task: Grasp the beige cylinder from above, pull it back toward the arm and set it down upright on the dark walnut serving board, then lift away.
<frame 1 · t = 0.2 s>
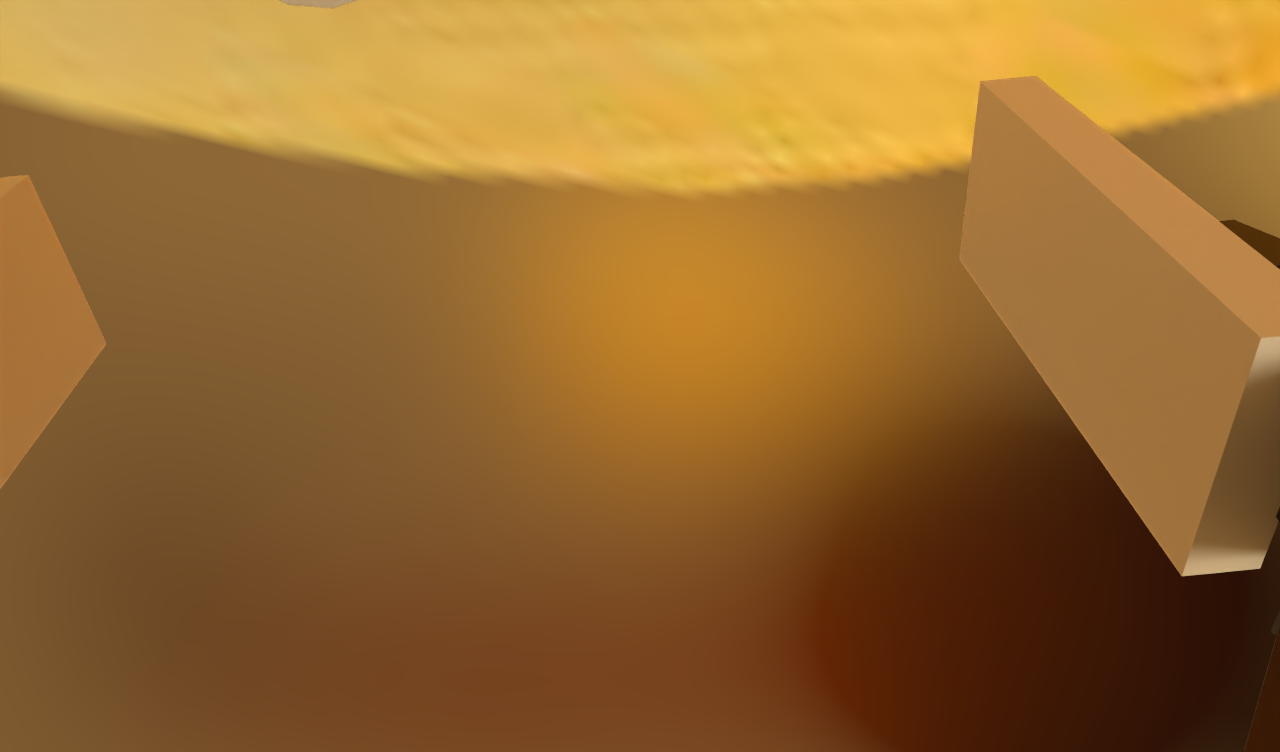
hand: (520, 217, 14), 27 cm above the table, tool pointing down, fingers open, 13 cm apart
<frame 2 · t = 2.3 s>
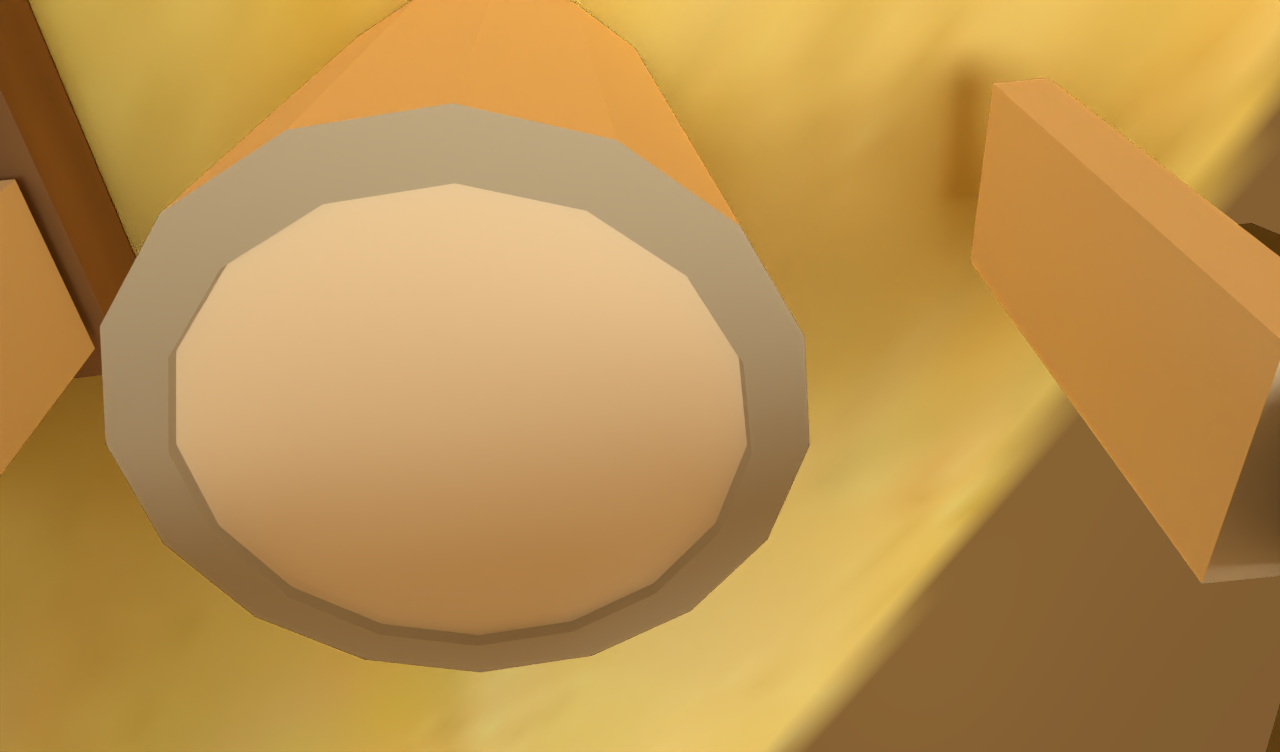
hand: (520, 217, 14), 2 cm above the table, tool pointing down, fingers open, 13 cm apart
beige cylinder: (501, 166, 15), on the table
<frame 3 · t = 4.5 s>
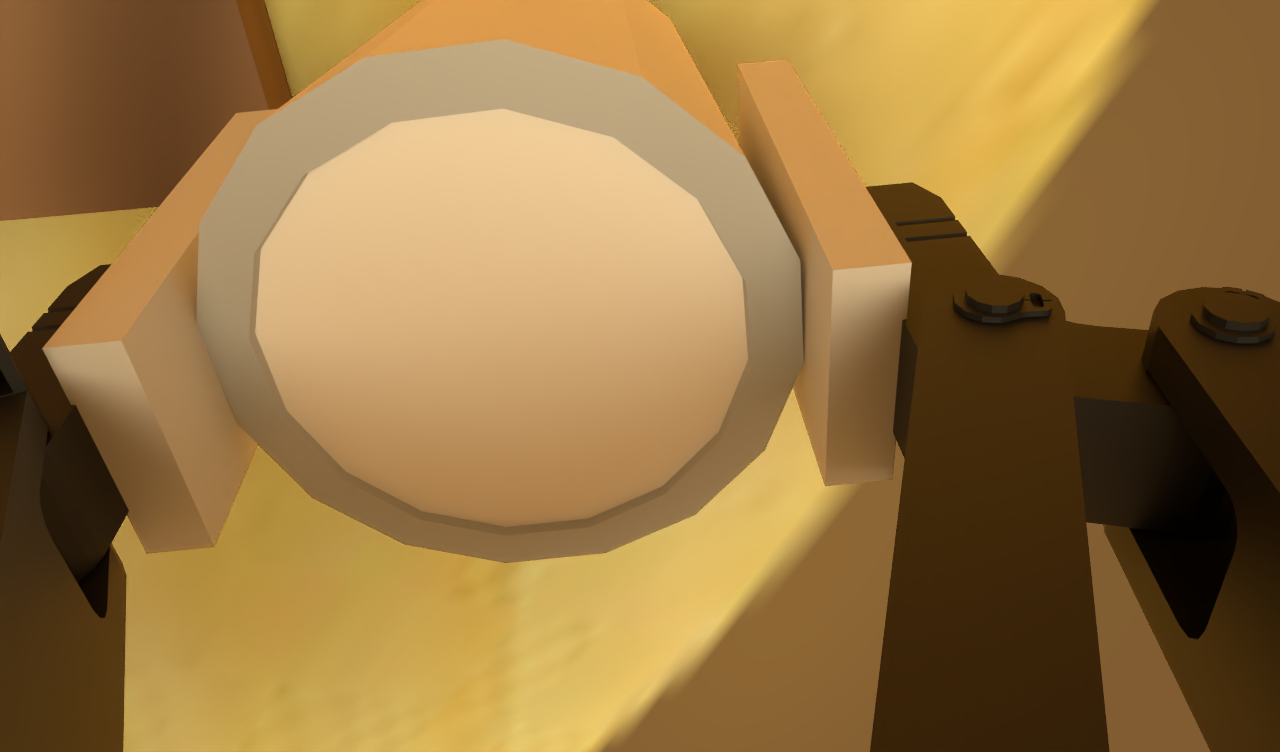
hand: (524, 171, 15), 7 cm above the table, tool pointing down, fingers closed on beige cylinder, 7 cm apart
beige cylinder: (544, 125, 17), point 5 cm above the table, touching gripper
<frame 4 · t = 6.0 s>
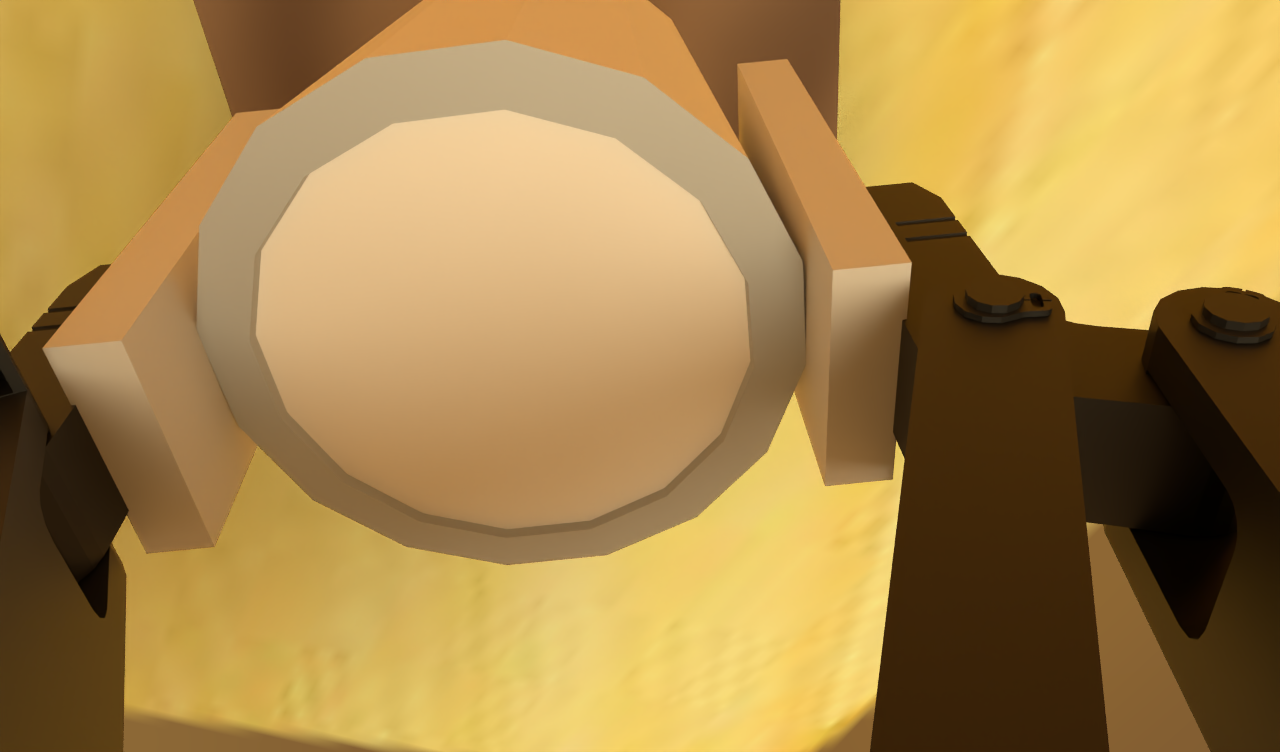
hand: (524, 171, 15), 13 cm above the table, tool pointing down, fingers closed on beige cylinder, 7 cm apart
beige cylinder: (545, 126, 17), point 11 cm above the table, touching gripper
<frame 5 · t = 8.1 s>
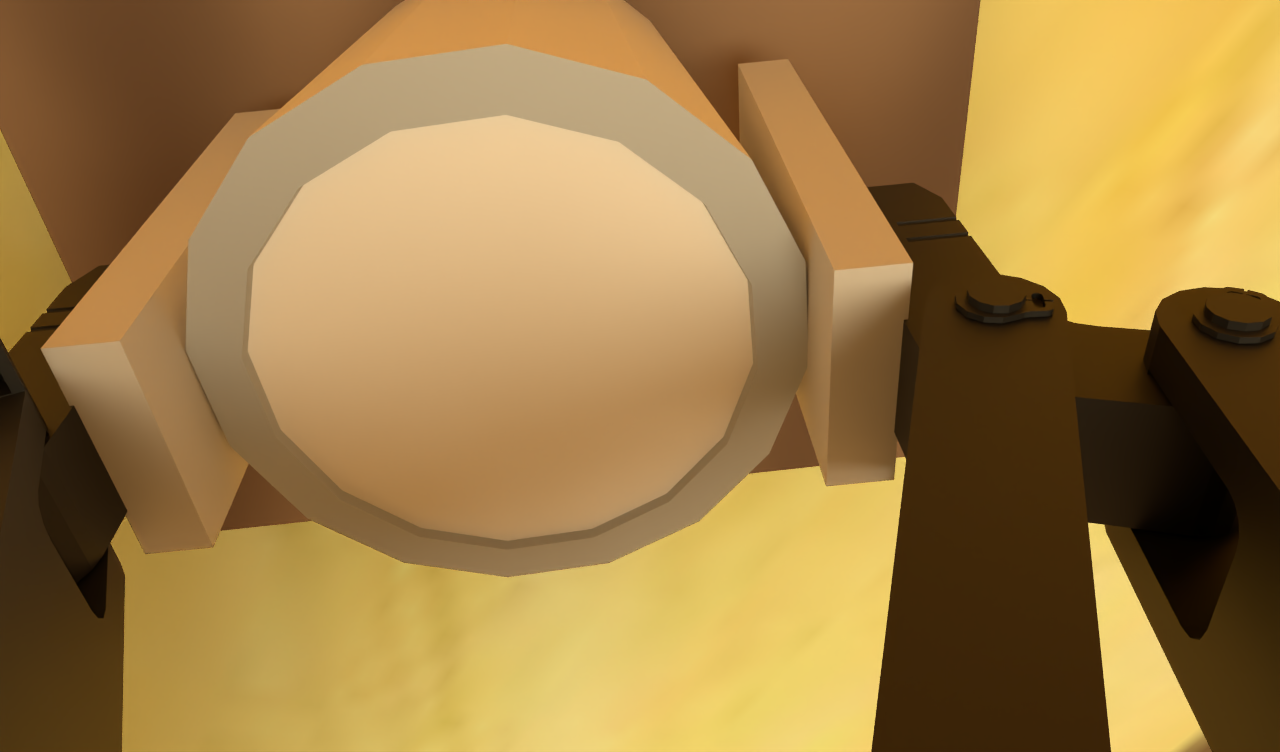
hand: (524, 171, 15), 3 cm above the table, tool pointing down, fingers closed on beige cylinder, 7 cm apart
beige cylinder: (523, 130, 17), point 1 cm above the table, touching gripper, serving board
serving board: (505, 108, 18), on the table
when the fingers open (3 cm above the table, at t = 8.9 s): beige cylinder stays where it is, resting on serving board.
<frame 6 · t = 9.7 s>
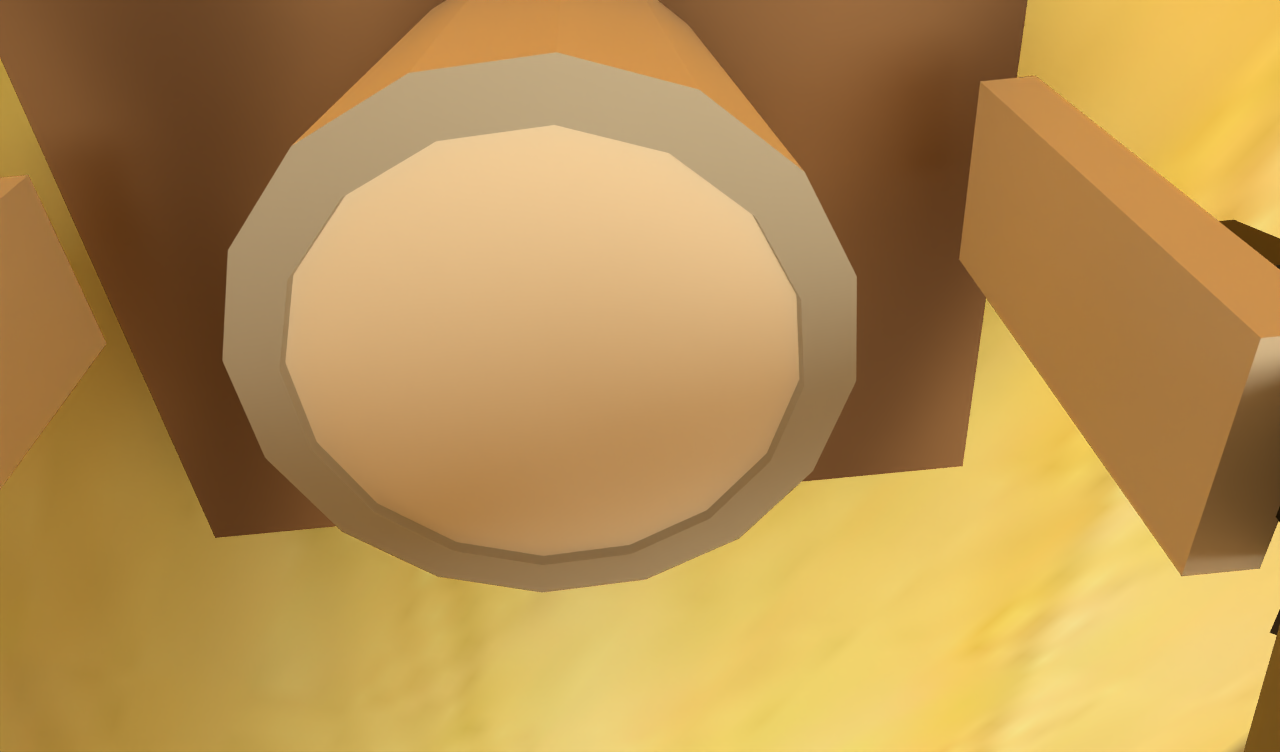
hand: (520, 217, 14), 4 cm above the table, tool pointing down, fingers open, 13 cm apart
beige cylinder: (558, 136, 16), point 1 cm above the table, touching serving board
serving board: (539, 112, 18), on the table
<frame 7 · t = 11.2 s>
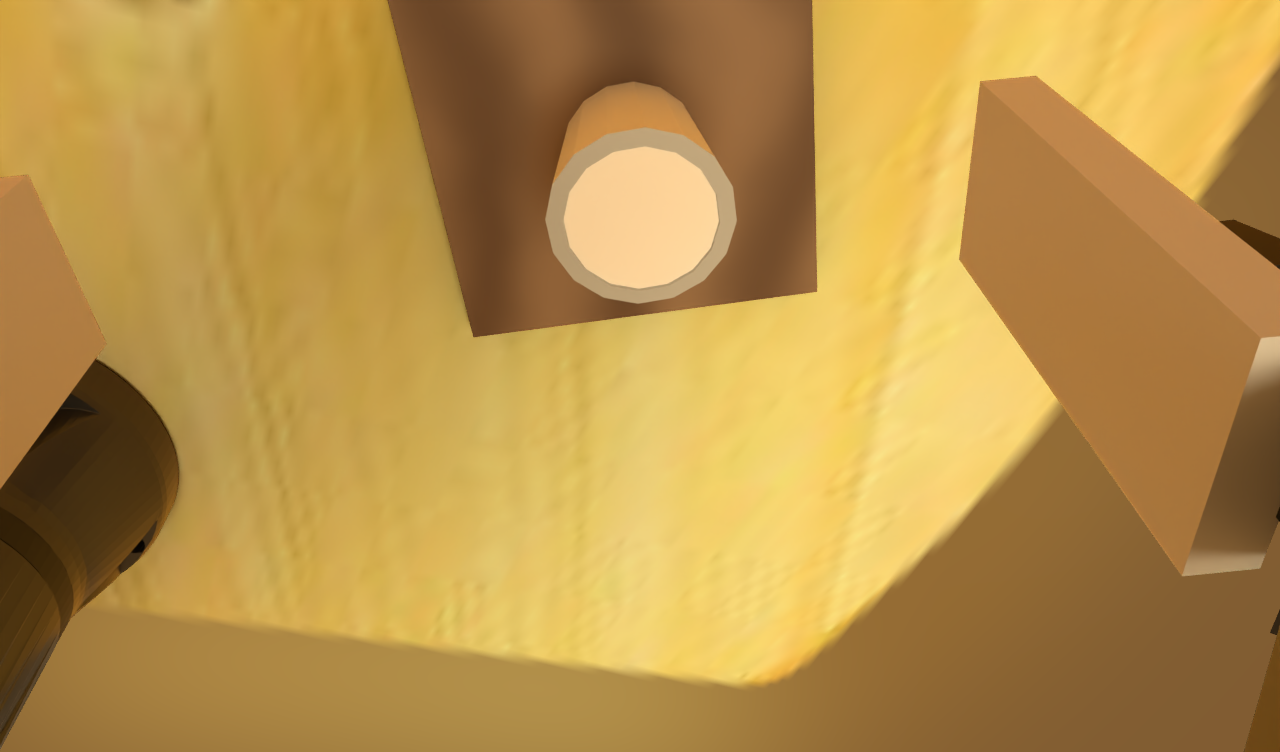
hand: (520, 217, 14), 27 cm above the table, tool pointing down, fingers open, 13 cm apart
beige cylinder: (631, 147, 41), point 1 cm above the table, touching serving board
serving board: (621, 137, 42), on the table
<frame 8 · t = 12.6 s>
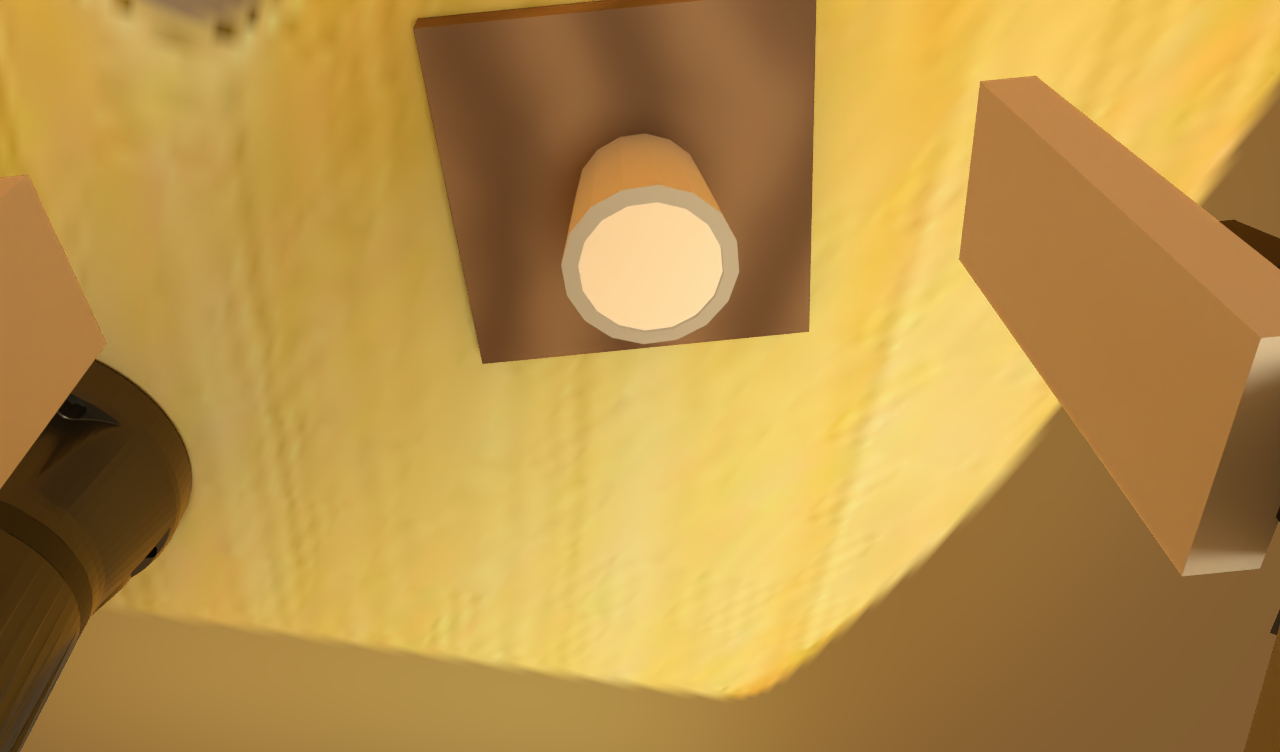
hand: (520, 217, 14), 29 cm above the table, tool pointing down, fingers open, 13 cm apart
beige cylinder: (640, 193, 43), point 1 cm above the table, touching serving board
serving board: (630, 182, 44), on the table
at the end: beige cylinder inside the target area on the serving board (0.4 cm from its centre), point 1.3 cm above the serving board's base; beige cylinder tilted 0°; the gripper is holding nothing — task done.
